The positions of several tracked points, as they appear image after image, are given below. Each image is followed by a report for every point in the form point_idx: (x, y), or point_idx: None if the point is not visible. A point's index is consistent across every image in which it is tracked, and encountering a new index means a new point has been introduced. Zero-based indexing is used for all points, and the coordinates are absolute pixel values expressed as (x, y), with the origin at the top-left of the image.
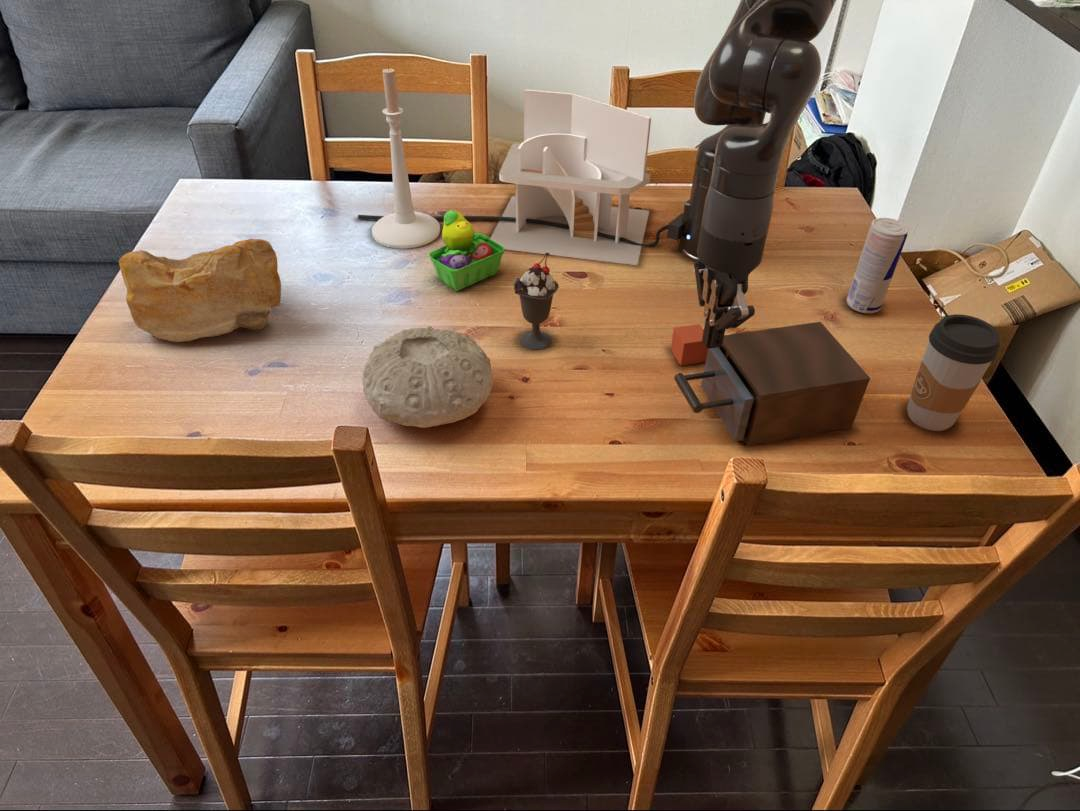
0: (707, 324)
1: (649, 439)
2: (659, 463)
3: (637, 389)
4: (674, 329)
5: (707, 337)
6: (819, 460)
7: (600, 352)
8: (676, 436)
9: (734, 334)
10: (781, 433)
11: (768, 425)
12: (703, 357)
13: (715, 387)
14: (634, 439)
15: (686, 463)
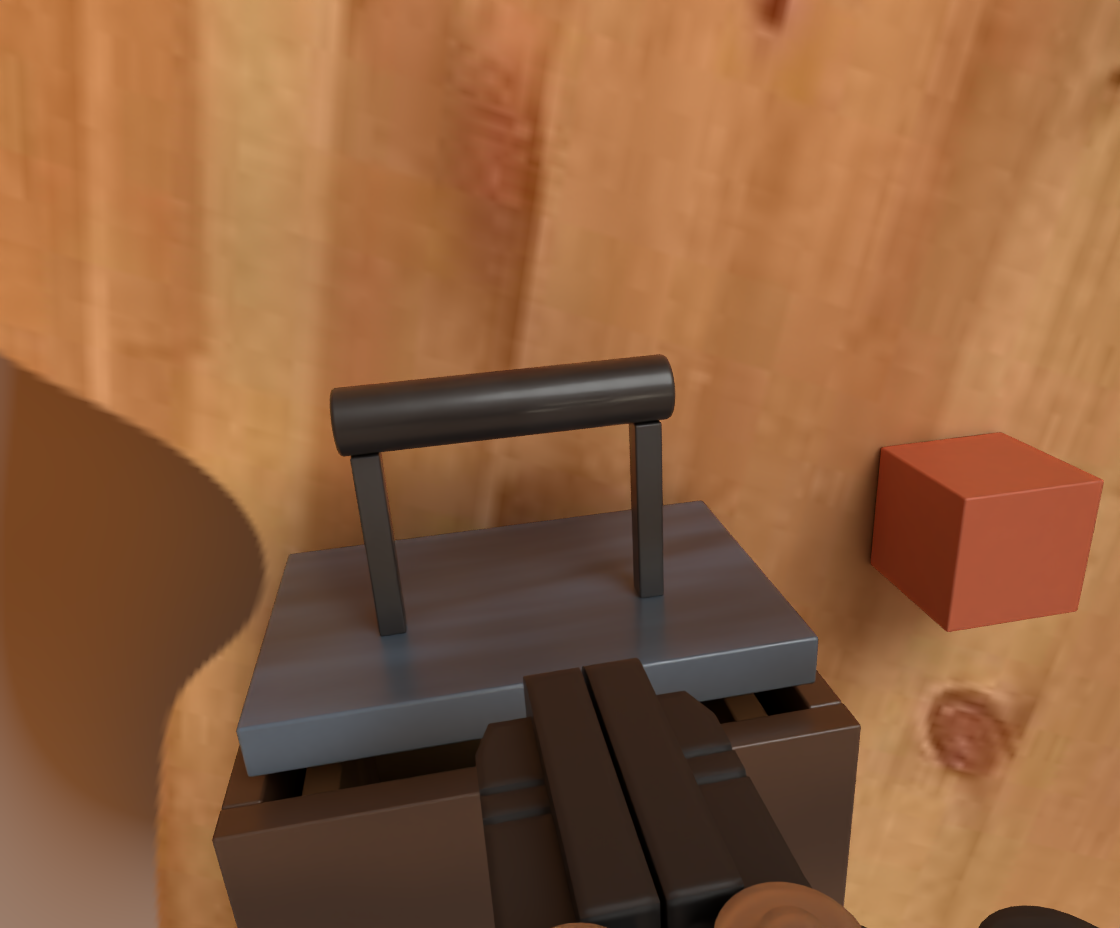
0: (652, 864)
1: (377, 127)
2: (175, 126)
3: (776, 179)
4: (1089, 479)
5: (554, 753)
6: (188, 835)
7: (1113, 53)
8: (387, 285)
9: (846, 808)
10: None
11: None
12: (886, 562)
13: (587, 567)
14: (384, 34)
15: (174, 279)
